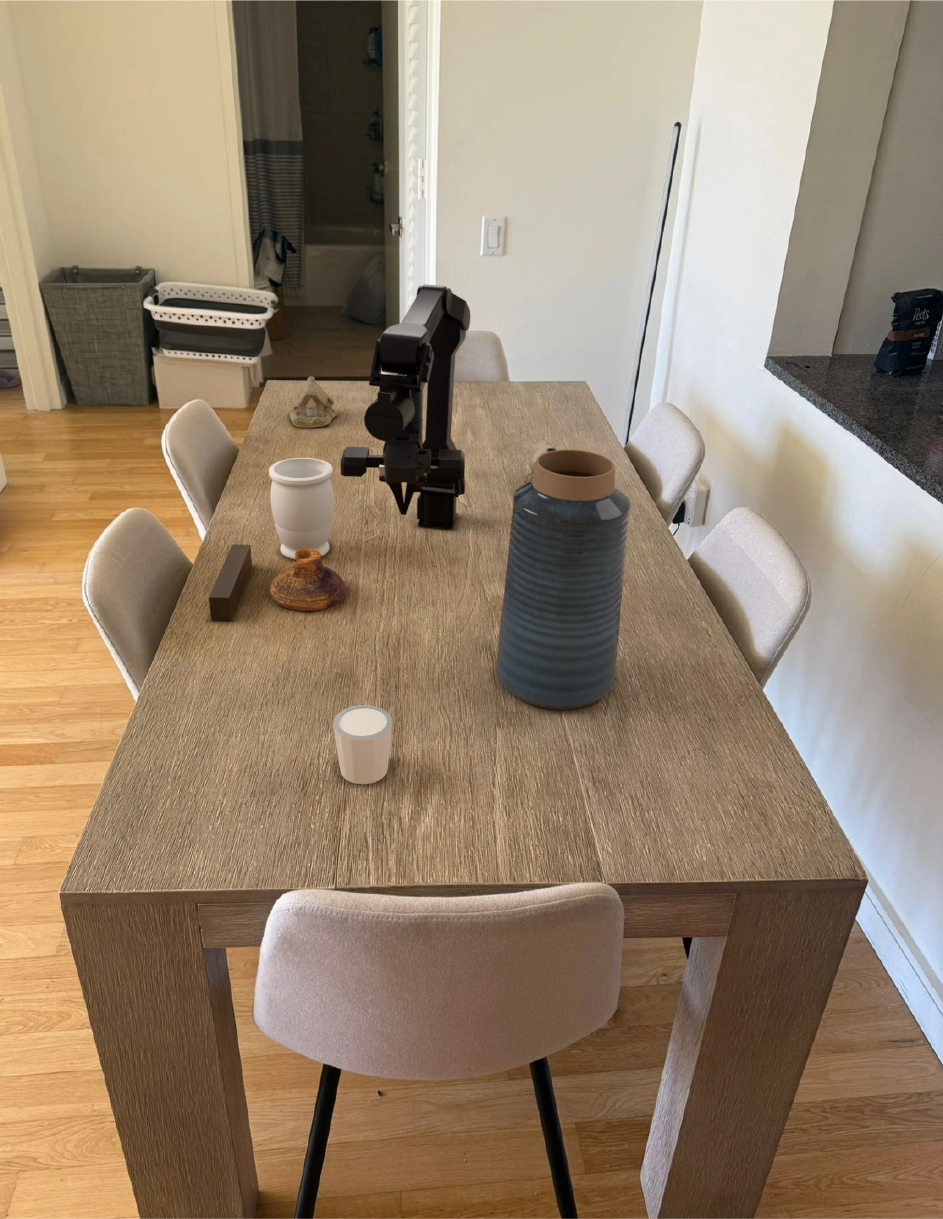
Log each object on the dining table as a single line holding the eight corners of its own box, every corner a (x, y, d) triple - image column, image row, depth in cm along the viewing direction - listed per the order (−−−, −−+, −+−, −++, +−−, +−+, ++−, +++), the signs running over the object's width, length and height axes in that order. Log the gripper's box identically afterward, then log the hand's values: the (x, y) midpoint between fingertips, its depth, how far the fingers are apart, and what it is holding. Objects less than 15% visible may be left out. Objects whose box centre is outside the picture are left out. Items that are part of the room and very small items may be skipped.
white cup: (336, 751, 115) (334, 704, 112) (392, 750, 116) (392, 703, 112) (333, 788, 109) (331, 740, 106) (393, 787, 110) (393, 738, 106)
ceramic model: (290, 409, 229) (288, 368, 224) (337, 409, 230) (336, 368, 225) (287, 428, 217) (285, 385, 212) (337, 428, 218) (335, 386, 213)
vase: (534, 725, 121) (553, 497, 106) (474, 662, 134) (484, 449, 118) (637, 695, 128) (670, 476, 112) (572, 637, 141) (593, 433, 125)
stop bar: (252, 566, 157) (250, 544, 155) (231, 621, 141) (229, 597, 139) (234, 566, 157) (232, 544, 155) (211, 620, 141) (208, 597, 139)
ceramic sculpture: (574, 435, 193) (583, 465, 181) (570, 473, 198) (579, 506, 185) (522, 434, 193) (528, 464, 180) (520, 473, 198) (525, 505, 185)
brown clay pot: (335, 616, 143) (334, 573, 140) (259, 608, 145) (255, 565, 141) (354, 581, 153) (353, 540, 150) (283, 573, 155) (280, 533, 151)
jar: (323, 567, 157) (319, 483, 150) (264, 559, 159) (258, 476, 151) (343, 541, 166) (341, 460, 159) (287, 534, 168) (282, 453, 160)
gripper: (334, 435, 134) (338, 534, 142) (466, 439, 134) (463, 537, 142) (342, 409, 143) (346, 504, 151) (465, 413, 144) (462, 507, 152)
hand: (403, 513), depth 149 cm, fingers closed
